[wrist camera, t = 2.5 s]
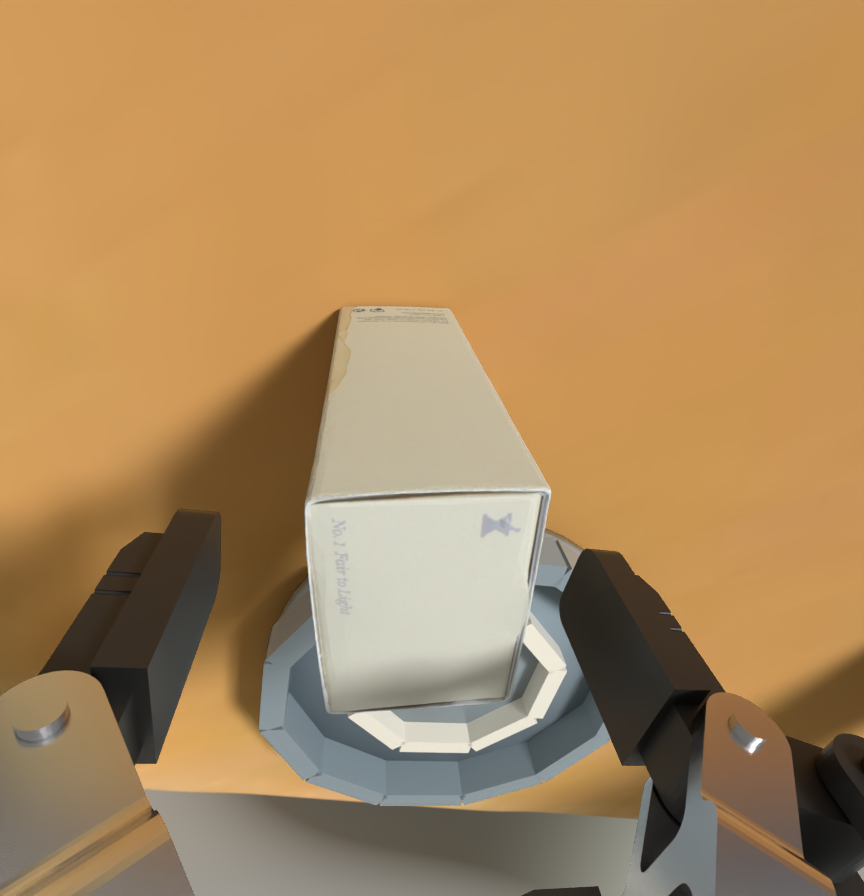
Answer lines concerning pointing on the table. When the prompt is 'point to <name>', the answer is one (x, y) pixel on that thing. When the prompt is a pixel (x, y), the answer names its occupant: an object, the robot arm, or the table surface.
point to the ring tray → (437, 715)
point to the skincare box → (418, 520)
